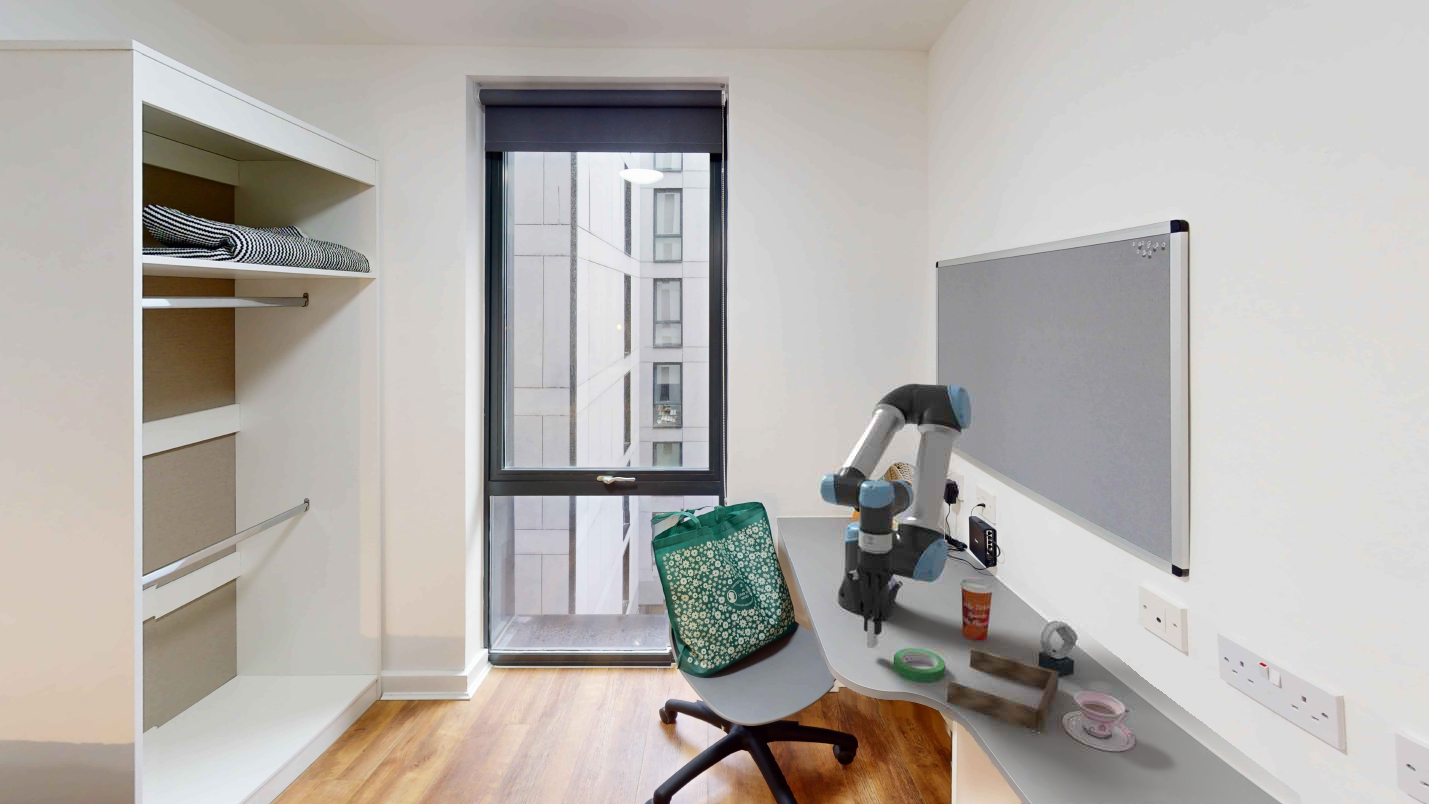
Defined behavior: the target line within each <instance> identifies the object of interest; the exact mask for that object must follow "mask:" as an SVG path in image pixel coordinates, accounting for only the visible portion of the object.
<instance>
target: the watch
mask: <svg viewBox="0 0 1429 804" xmlns="http://www.w3.org/2000/svg"><path fill="white" fill-rule="evenodd" d="M1054 632H1056V633H1057V634H1058V635H1059V637H1060V638H1061V641H1063V642H1062V645H1061V647H1060V648H1059V649H1058V650H1056V649H1054V648H1052V644H1051V640H1050V639H1051V637H1052V636H1053V634H1054ZM1078 639H1079V637H1078V634H1077V633H1076V632H1075V630H1074V629H1073V628H1072V626H1070V625H1069V624H1067V623H1066V622H1063V621H1061V620H1060V621H1057V620H1053V621H1050V622H1048V623H1047V625H1045V627H1044V629H1043V630H1042V632H1041V637H1040V645H1041V647H1042V650H1043V651H1039V652H1038V665H1037V666H1040V667H1043V668H1047V669H1051V670H1054V671H1058V672H1059V678H1063V677H1066V676H1071V675H1074V671H1075V669H1074V668H1075V660H1074V659H1072V658H1071V657H1069V656H1068V655H1069V654H1070V653H1071V652H1072V650H1073V649H1074V647H1075V646H1076V643H1077V640H1078Z"/></svg>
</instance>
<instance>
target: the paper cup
mask: <svg viewBox="0 0 1429 804" xmlns="http://www.w3.org/2000/svg"><path fill="white" fill-rule="evenodd" d="M959 585H960V588H961V611H962V612H961V613H962V614H961V615H962V616H961V617H962V635H963V636H964V637H965V638H967V639H968V640H970V641H971V640H972V641H976V642H978V641H979V642H982V641H985V640H987V638H988V631H989V622H990V614H991V604H992V597H993V596H992V595H993V592H994V591H995V587H994V585H993V584H992V582H991V581H990V580H988V579H986V578H984V577H980V576H979V577H978V576H966V577H963V578H962V580H961V582H960V584H959Z"/></svg>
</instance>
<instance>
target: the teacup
mask: <svg viewBox="0 0 1429 804" xmlns="http://www.w3.org/2000/svg"><path fill="white" fill-rule="evenodd" d="M1073 700H1074V702H1075V703H1076V704H1077V706H1078V707H1079V709H1080V710H1076V711H1070V712H1067V713H1066V714H1064V715H1063V717H1062V718H1061V724H1062V727H1063V728H1064V730H1065V732H1066V733H1068V735H1070V736H1071V737H1072V738H1073V739H1075V740H1076V741H1078V742H1080V743H1081V744H1083V745H1087V746H1088V747H1092V748H1094V749H1098V750H1101V751H1102V750H1103V751H1104V752H1105V751H1106V752H1118V753H1119V752H1126V751H1128V750H1131V749H1132V748H1133V747H1134V745H1135V743H1136V740H1135V737H1134V734H1133V733H1132V732H1131V730H1130V729H1129V728H1128V727H1126V726H1125V725H1124V723H1125V722H1126V721H1127V719H1128V718H1129V712H1130V710H1129V709H1127V708H1126V706H1125V704H1123V702H1121V701H1120V700H1119V699H1117V698H1115V697H1113V696H1111V695H1109V694H1105V693H1101V692H1096V691H1086V690H1083V691H1079V692H1077V693H1075V694H1074V696H1073ZM1123 714H1124V716H1123V718H1121V720H1119V721H1118V718H1120V717H1121V716H1122V715H1123ZM1075 717H1076V718H1075ZM1073 718H1074V719H1073ZM1071 719H1072V720H1071ZM1079 719H1080V720H1079ZM1073 722H1075V723H1074V724H1073ZM1084 728H1085V730H1087V732H1088V733H1087V732H1086V731H1085V730H1084ZM1110 735H1111V737H1109V738H1108V739H1103V738H1107V737H1108V736H1110Z"/></svg>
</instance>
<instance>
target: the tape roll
mask: <svg viewBox="0 0 1429 804" xmlns="http://www.w3.org/2000/svg"><path fill="white" fill-rule="evenodd" d="M911 661H912V662H921V663H926V664H928V665H930V666H932V667H930V668H919V667H914V666H911V665H909V664H907V662H911ZM893 670H894V671H895V673H897V674H898V676H900V677H902V678H903V679H906V680H909V682H910V681H911V682H915V683H921V684H931V683H936V682H939V681H941V680H943V679H944V677H945V673H946V661H945V660H944V659H943V658H942V657H941V656H940V655H939V654H937V653H935V652H933V651H930V650H927V649H924V648H923V649H922V648H917V647H914V648H913V647H908V648H903V649H899V650H897V651H895V653H894V654H893Z"/></svg>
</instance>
